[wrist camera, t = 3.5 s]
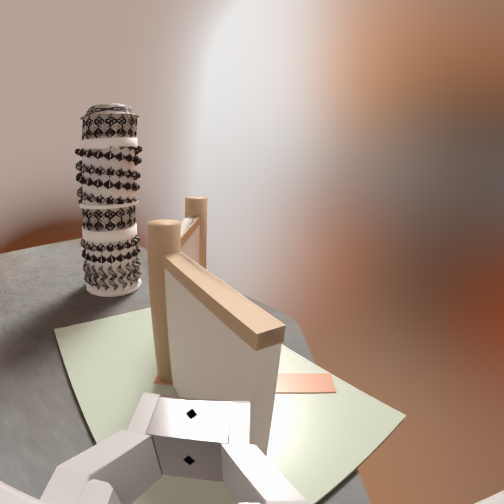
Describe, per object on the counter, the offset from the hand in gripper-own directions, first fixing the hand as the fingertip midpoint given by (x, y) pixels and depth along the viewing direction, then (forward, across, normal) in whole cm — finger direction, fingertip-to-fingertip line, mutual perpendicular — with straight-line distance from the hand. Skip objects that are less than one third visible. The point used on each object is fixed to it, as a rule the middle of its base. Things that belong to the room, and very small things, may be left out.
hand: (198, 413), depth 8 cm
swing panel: (+9, +1, +11) cm, 14 cm away
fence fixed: (+22, +5, +11) cm, 25 cm away
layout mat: (+15, +3, +11) cm, 19 cm away
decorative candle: (+34, +18, +11) cm, 40 cm away
